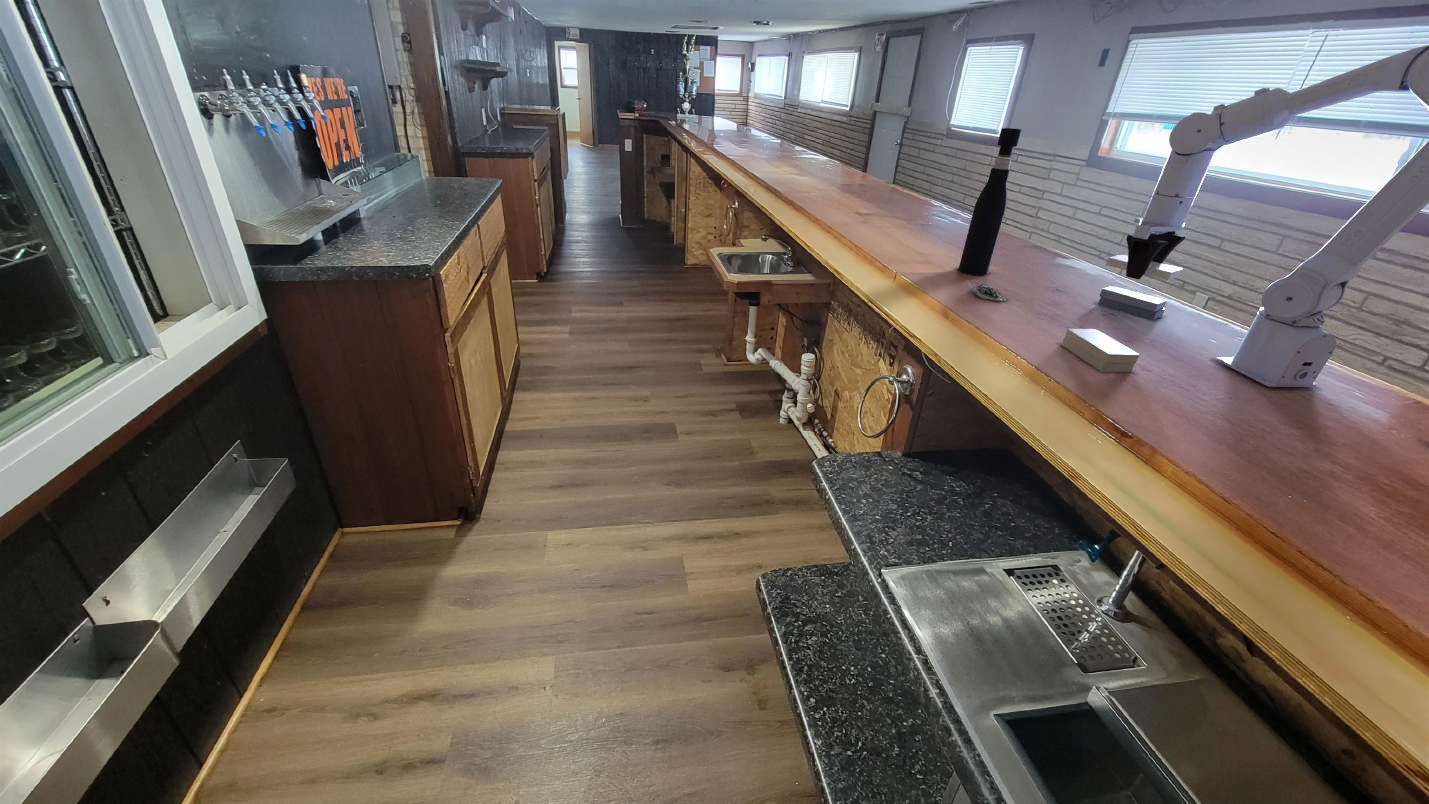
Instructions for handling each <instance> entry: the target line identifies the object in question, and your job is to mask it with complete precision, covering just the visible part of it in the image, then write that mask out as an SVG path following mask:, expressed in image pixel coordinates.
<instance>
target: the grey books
mask: <svg viewBox="0 0 1429 804" xmlns="http://www.w3.org/2000/svg"><path fill="white" fill-rule="evenodd" d="M1099 297H1100V298H1099V300H1098V303H1097V305H1099V306H1103V307H1105V308H1109V309H1113V310H1116V311H1119V312H1123V313H1127V314H1130V315H1133V316H1136V317H1140V318H1144V319H1147V320H1150V321H1154V320H1157V319H1159V318H1162V317H1163V315H1164V313H1165V311H1166V308H1165V306H1166V304H1167V302H1168V300H1167V299H1163V298H1161V297H1160V298H1159V297H1156V296H1153V295H1149V294H1144V293H1141V292H1137V291H1133V290H1130V289H1126V288H1123V287H1118V286H1114V285H1109V286H1107V287H1104V288H1103V287H1102V289H1101V291H1100V292H1099Z"/></svg>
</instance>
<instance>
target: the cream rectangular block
mask: <svg viewBox="0 0 1429 804" xmlns="http://www.w3.org/2000/svg"><path fill="white" fill-rule="evenodd" d="M1060 345H1061V346H1062V347H1064V348H1065V349H1066V350H1068V351H1070V352H1071V353H1073V354H1074V355H1076V356H1077V357H1078V358H1079V359H1081V360H1083V361H1084V362H1086V363H1088V364H1090V365H1091V366H1092V367H1093V368H1095V369H1097V371H1100V372H1132V371H1133V369H1134V367H1135V365H1136V363H1137V361H1138V359H1139V357H1140V353H1137V352H1136V351H1135V350H1133V349H1131V348H1129V347H1128V346H1126V345H1123V344H1122V343H1120V342H1119V341H1117V340H1115V339H1114V338H1112V337H1110V336H1108V335H1107V334H1106V333H1103V332H1102V331H1100V330H1098V329H1096V328H1067V329H1066V332H1065V334H1064V337H1063V339H1062V341H1061V344H1060Z"/></svg>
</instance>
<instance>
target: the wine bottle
mask: <svg viewBox="0 0 1429 804" xmlns="http://www.w3.org/2000/svg"><path fill="white" fill-rule="evenodd" d="M1022 131H1023V130H1022V128H1013V127H1012V128H1011V127H1002V128H1001V129H1000V134H999V137H998V140H997V146H1000V147H999V150H998V153H997V157H998V158H995V160H993V162H994V164H993V165H992V166H993V167H991V168H990V171H989V176H988V179H987V181H986V183H985V184H984V186H983V189H982V190H981V192H980V193H979V195H978V198H977V199H976V202H975V204H974V208H973V212H972V215H971V219H970V223H969V226H968V230H967V234H966V238H965V241H964V246H963V250H962V254H961V257H960V262H959V265H958V270H959V271H960V272H962V273H964V274H967V275H973V276H985V275H988V273H989V270H990V266H991V264H992V260H993V256H994V253H995V249H996V246H997V242H998V239H999V236H1000V231H1001V228H1002V225H1003V222H1004V218H1005V215H1006V211H1007V205H1008V185H1007V184H1008V180H1009V177H1010V172H1011V169H1010V168H1011V164H1012V160H1011V159H1009V158H1011V157H1012V153H1013V150H1014V148H1017V147H1018V145H1019V142H1020V139H1021V135H1022Z"/></svg>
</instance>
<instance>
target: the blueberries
mask: <svg viewBox="0 0 1429 804" xmlns="http://www.w3.org/2000/svg"><path fill="white" fill-rule="evenodd" d="M970 288H971V290H972V291H973V292H974V294H975V295H976V296H978V297H979V298H981V299H985V300H991V301H996V302H1006V300H1007V298H1006V297H1004V295H1003V293H1001V292H1002V291H1001V290H1000V291H999V289H996V288H995V287H992V286H990V285H987V286H986V285H985V284H980V285H976V286H970ZM1002 295H1003V296H1002Z"/></svg>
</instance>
